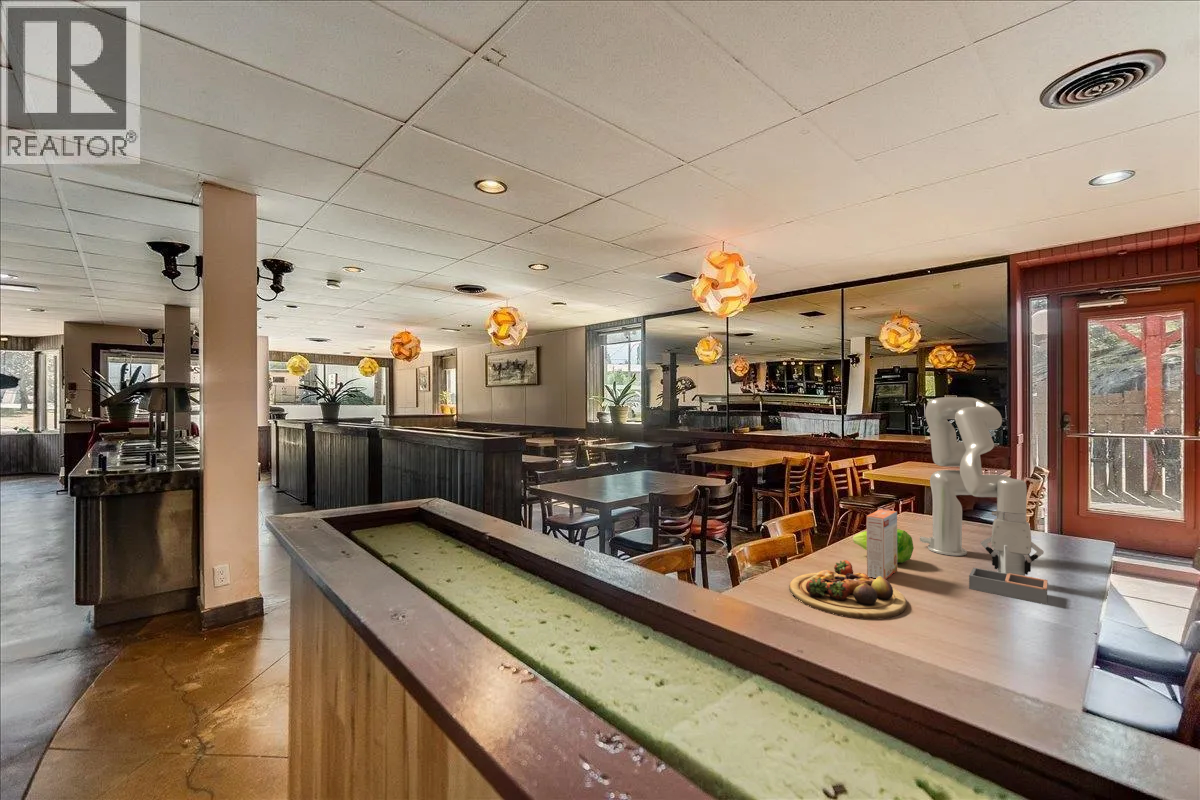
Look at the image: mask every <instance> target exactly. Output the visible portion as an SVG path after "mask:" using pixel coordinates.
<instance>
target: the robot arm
mask: <svg viewBox="0 0 1200 800" xmlns="http://www.w3.org/2000/svg"><path fill="white" fill-rule="evenodd" d="M924 415H925V420H926V423H927V427H928V429H929V434H930V446H931V447H930V448H931V456H932V461H933V463H934V464H935V465H936V466H939V467H945V468H946V467H951V468H952V467H954V468H955V467H956V468H957V467H958V468H959V469H957V470H956V469H944V470H943V469H941V470H937V471H935V472H933V473H932V474H930V477H929V485H930V488H931V497H932V536H931V537H930V536H929V537H925V536H920V537H919V542H922V543H924V544H928V545H927V550H929V551H931V552H933V553H937V554H940V555H944V556H945V555H946V556H956V557H959V556H960V557H961V556H966V555H967V553H968V551H967V550H966V549H965V548H963V547H962V546H963V544H962V543H963V505H962V504H961V502H960V500H959V499H958V498H957V496H973V497H975V498H996V504H997V505H996V510H995V511H994V510H993V511H992V510H991V515H992V516H994V517H996V518H994V519H993V522H992V528H991V535H990V536H989V537H987V538H985V539H984V540H982V541H980V544H981V546H982V547H983V548H984V549H985V550H986V552H987V553H989V555H990V556H991V565H992V566H994V570H998V552H999V551H1004V545H1006V546H1008V548H1009V552H1011V553H1016V554H1023V556H1024V557H1025V576H1028V575H1029V573H1031V572H1032V571H1031V569H1032V562H1034V561H1036V560H1037V559H1038V558H1039V557H1041V556H1042V555H1044V554H1045V553H1044V551H1045V550H1043V549H1042V548H1040V547H1039V546H1038V545H1036V544H1035V543H1034V542H1033V541H1032V532H1031V527H1030V524H1029V523H1030V522H1028V521H1027V497H1028V496H1027V495H1028V494H1027V488H1028V487H1027V483H1026V481H1024V480H1022V479H1016V478H1012V477H1009V476H1007V475H1002V474H983V470H982V461H981V455H983V454H986V453H988V452H990V451H991V450H993V449H994V447H995V443H994V440H993V438H992V436H991V433H990V431H996V430H997V429H999V428H1000V427H1001V425H1002V423H1003V417H1002V415H1001V413H1000V411H999V410H998V409H997V408H995V407H994V406H992V405H990V404H989V403H986V402H984V401H982V400H980V399H978V398H974V397H965V396H963V397H955V396H954V397H952V396H947V397H936V398H933V399H931V400H930V401H929V402H928V403H927V404H926V407H925V413H924ZM948 420H954V421H955V423H956V426H957V429H958V432H959V434H960V438H961V440H962V442H961V441H960V442H959V441H958V440H957V431H956V429H955V427H954V426H953V424H952V423H951V422H950V421H948ZM989 543H990V544H991V546H989ZM1032 549H1033V550H1034V551H1035V553H1033V554H1032V555H1031V553H1032Z"/></svg>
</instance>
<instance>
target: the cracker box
mask: <svg viewBox="0 0 1200 800" xmlns="http://www.w3.org/2000/svg"><path fill="white" fill-rule="evenodd" d="M865 518H866V523H865V524H866V531H867V550H866V575H867V576H869V577H873V578H877V577H878V576H881V577H883V578H885V579H887V578H888V577H889V578H890V577H892V576H893V575H894V574H895V573H896V572H897V571H898V562H897V529H898V511H895V510H889V509H883V508H881V509H880V508H879V509H878V510H876V511H874V512H872V513H870V514H868V515H866V517H865ZM893 573H894V574H893ZM892 574H893V575H892ZM873 578H872V579H873ZM889 578H888V579H889ZM888 579H887V580H888Z"/></svg>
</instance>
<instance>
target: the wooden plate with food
mask: <svg viewBox="0 0 1200 800" xmlns="http://www.w3.org/2000/svg"><path fill="white" fill-rule="evenodd" d="M833 568H834V571H832V570H829V569H824V570H819V571H818V572H811V573H809V572H808V573H804V574H800V575H798V576H795V577H794V578H792V580H791V581H790V583H789V585H788V590H789V592H790V594H791V593H792V594H793V595H794V596H795V597H796V598H797V599H798V600H800V601H802V602H803V603H805V604H807V605H809V606H808V607H810V606H811V607H810V608H812V607H813V609H815V608H816V609H815V610H817V609H818V611H820V610H822V611H821V612H823V611H825V612H824V613H827V612H830V613H829V614H831V613H834V614H833V615H835V614H838V615H837V616H839V615H843V616H842V617H845V616H847V617H846V618H851V617H853V618H852V619H860V618H863V620H879V619H878V618H884V619H888V618H887V617H890V618H893V617H892V616H894V617H896V615H897V616H899V615H901V614H902V613H903V612H904V611H905V610H906V609H907V606H908V605H907V599H906V597H905V595H904V594H903V593H902V592H900V591H899V590H898V589H897V588H895V587H893V586H892V585H891V583H890V582H889V581H888V579H887V580H886V579H885V578H883V577H881V576H878V577H877V578H876V579H873V578H869V577H868V576H867V573H861V572H857V573H854V570H853V565H852V563H851V562H850V561H848V560H846V559H845V560H840V561H839V562H835V564H834V567H833ZM792 594H791V595H792ZM793 595H792V596H793ZM794 596H793V597H794ZM795 597H794V598H795ZM796 598H795V599H796ZM797 599H796V600H797ZM798 600H797V601H798ZM800 601H799V602H800ZM802 602H801V603H802ZM803 603H802V604H803ZM805 604H804V605H805ZM807 605H806V606H807ZM900 613H901V614H900ZM898 614H899V615H898Z"/></svg>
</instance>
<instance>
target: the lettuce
mask: <svg viewBox="0 0 1200 800" xmlns="http://www.w3.org/2000/svg"><path fill="white" fill-rule="evenodd" d="M852 542H853V543H854V544H856V545H858V546H859V547H861V548H862V549H863V550H865V551H867V530H864V531H861V532H858V533H856V534H855V535H853V536H852ZM914 548H915V547H914V542H913V537H912V536H911V535H910V534H909V533H908V531H906V530H903V529H899V528H897V563H900V564H901V563H906V561H908V560H910V559H911V558H912V554H913V551H914Z"/></svg>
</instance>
